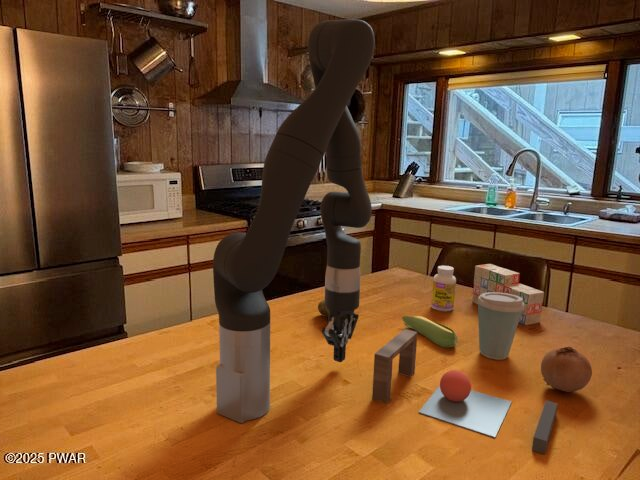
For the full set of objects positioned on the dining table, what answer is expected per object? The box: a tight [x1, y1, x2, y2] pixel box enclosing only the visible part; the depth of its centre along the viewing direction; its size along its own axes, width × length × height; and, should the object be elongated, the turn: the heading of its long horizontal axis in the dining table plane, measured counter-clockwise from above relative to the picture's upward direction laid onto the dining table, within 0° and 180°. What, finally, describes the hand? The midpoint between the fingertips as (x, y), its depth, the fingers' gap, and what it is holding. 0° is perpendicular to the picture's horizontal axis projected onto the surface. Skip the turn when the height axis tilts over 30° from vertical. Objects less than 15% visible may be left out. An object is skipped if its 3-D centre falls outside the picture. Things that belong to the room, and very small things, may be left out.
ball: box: [439, 369, 472, 402], centre depth 98 cm, size 6×6×6 cm
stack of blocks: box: [472, 263, 545, 326], centre depth 147 cm, size 21×6×12 cm, turn 25°
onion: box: [540, 346, 593, 393], centre depth 102 cm, size 10×9×10 cm
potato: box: [317, 299, 330, 318], centre depth 137 cm, size 8×13×8 cm, turn 14°
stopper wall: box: [531, 400, 558, 455], centre depth 88 cm, size 14×2×2 cm, turn 148°
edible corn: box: [401, 315, 459, 348], centre depth 129 cm, size 5×20×5 cm, turn 28°
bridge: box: [371, 328, 419, 404], centre depth 102 cm, size 15×3×10 cm, turn 148°
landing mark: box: [418, 385, 513, 439], centre depth 95 cm, size 14×14×1 cm
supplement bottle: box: [430, 265, 457, 312], centre depth 149 cm, size 7×7×13 cm
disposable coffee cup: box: [477, 292, 524, 361], centre depth 118 cm, size 11×11×15 cm
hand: (339, 360), depth 109 cm, fingers closed
